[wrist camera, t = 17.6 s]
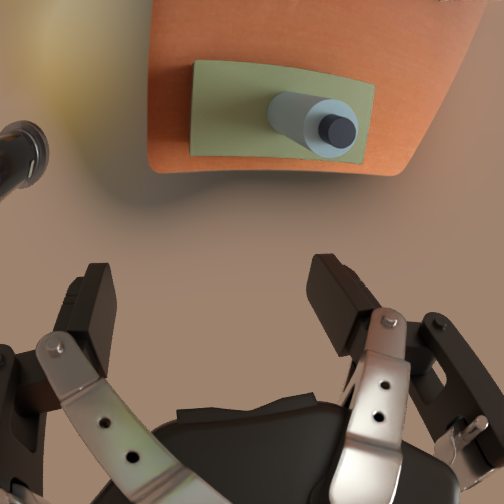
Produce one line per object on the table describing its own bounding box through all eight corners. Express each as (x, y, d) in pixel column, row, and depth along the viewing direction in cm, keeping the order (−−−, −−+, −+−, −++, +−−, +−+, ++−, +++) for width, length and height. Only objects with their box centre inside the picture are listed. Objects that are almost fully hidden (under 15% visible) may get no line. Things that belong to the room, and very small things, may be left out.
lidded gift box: (188, 143, 43) (189, 156, 36) (192, 64, 37) (194, 59, 29) (336, 150, 48) (362, 164, 41) (346, 81, 42) (375, 84, 35)
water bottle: (265, 132, 36) (307, 161, 24) (269, 89, 33) (316, 96, 22) (307, 136, 37) (363, 166, 26) (312, 94, 34) (374, 107, 23)
